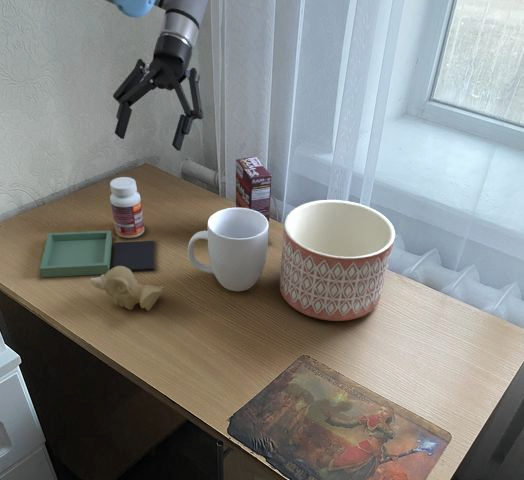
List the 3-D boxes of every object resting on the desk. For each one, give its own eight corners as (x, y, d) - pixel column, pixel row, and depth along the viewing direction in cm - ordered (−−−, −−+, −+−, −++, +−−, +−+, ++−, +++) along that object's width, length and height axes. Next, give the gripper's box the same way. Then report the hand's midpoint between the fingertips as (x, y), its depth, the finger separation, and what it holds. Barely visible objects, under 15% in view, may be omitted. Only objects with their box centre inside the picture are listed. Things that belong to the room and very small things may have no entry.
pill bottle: (142, 239, 114) (136, 190, 106) (113, 238, 114) (105, 189, 106) (146, 224, 118) (140, 175, 111) (118, 223, 118) (110, 175, 110)
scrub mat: (115, 244, 112) (114, 242, 112) (153, 242, 113) (153, 240, 113) (112, 272, 105) (112, 270, 105) (154, 270, 106) (153, 268, 106)
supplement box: (234, 227, 119) (234, 158, 108) (254, 224, 120) (256, 155, 109) (247, 248, 113) (249, 177, 102) (269, 244, 115) (273, 174, 104)
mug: (185, 296, 101) (181, 235, 92) (193, 262, 109) (190, 204, 100) (264, 300, 101) (267, 240, 92) (266, 266, 109) (269, 208, 100)
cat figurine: (153, 295, 91) (90, 264, 91) (142, 329, 94) (80, 299, 94) (171, 280, 98) (112, 251, 98) (159, 311, 101) (103, 284, 101)
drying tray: (50, 241, 112) (48, 233, 110) (112, 239, 114) (110, 230, 112) (42, 277, 103) (39, 268, 102) (109, 273, 105) (107, 264, 103)
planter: (296, 334, 94) (304, 264, 84) (267, 271, 107) (271, 204, 97) (395, 318, 98) (414, 250, 88) (355, 260, 112) (368, 195, 101)
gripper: (235, 63, 113) (206, 160, 113) (132, 46, 119) (105, 138, 119) (224, 41, 105) (194, 145, 106) (115, 25, 111) (86, 123, 112)
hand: (147, 142), depth 112 cm, fingers open, 13 cm apart
